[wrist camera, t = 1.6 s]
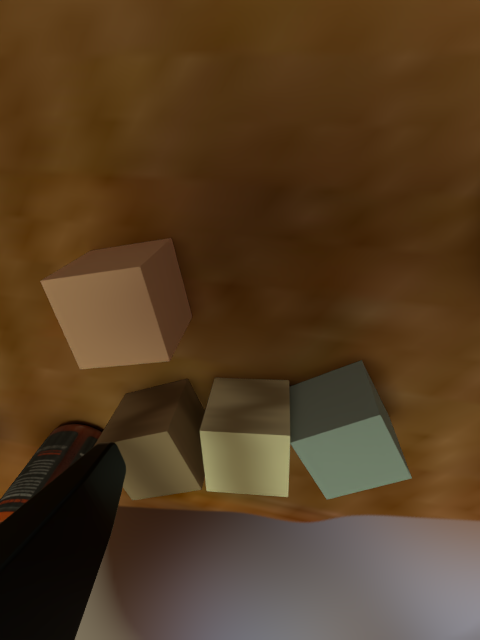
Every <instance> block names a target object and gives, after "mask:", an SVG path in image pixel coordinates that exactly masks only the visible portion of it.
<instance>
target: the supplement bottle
mask: <svg viewBox="0 0 480 640" xmlns="http://www.w3.org/2000/svg"><path fill="white" fill-rule="evenodd" d="M101 434H102V432H101V431H99V430H97V429H95V428H92V427H90V426H85V425H81V424H69V425H64V426H61V427H59V428H57V429H55V430H54V431H53V432H52V433H51V434H50V435H49V437H48V438H47V439H46V440H45V441H44V443H43V444H42V445H41V447H40V448H39V449H38V450H37V452H36V453H35V454H34V456H33V457H32V458H31V460H30V461H29V462H28V464H27V465H26V466H25V467H24V469H23V470H22V472H21V473H20V474H19V476H18V477H17V478H16V479H15V481H14V482H13V483H12V485H11V486H10V487H9V489H8V490H7V491H6V493H5V494H4V495H3V497H2V498H1V499H0V523H1V522H3V521H4V520H5V519H6V518H7V517H9V516H10V515H11V514H12V513H14V512H15V511H16V510H17V509H18V508H20V507H21V506H22V505H23V504H25V503H26V502H27V501H28V500H29V499H31V498H32V497H33V496H34V495H36V494H37V493H38V492H39V491H40V490H42V489H43V488H44V487H45V486H47V485H48V484H49V483H50V482H51V481H53V480H54V479H55V478H56V477H58V476H59V475H60V474H61V473H62V472H64V471H65V470H66V469H67V468H68V467H70V466H71V465H72V464H73V463H75V462H76V461H77V460H78V459H79V458H81V457H82V456H83V455H84V454H86V453H87V452H88V451H89V450H90V449H92V448H93V447H94V445H95V443H96V442H97V440H98V439H99V437H100V435H101Z"/></svg>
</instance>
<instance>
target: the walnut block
mask: <svg viewBox="0 0 480 640" xmlns="http://www.w3.org/2000/svg"><path fill="white" fill-rule="evenodd" d="M204 414H205V411H204V409H203V407H202V405H201V403H200V401H199V399H198V397H197V395H196V393H195V392H194V390H193V388H192V386H191V384H190V382H189V380H188V379H184V380H180V381H176V382H172V383H168V384H164V385H159V386H155V387H151V388H147V389H143V390H139V391H135V392H131V393H127V394H125V396H124V397H123V399H122V401H121V402H120V404H119V406H118V407H117V409H116V411H115V412H114V414H113V416H112V417H111V419H110V420H109V422H108V424H107V425H106V427H105V429H104V430H103V432H102V434H101V435H100V437H99V439H98V440H97V442H96V443H95V445H97V444H98V443H101V442H114V443H116V444H117V446H118V448H119V450H120V452H121V455H122V457H123V459H124V461H125V464H126V475H125V479H124V483H123V488H124V489H125V491H126V492H127V493H128V495H129V496H130V498H131V499H132V500H138V499H144V498H151V497H157V496H163V495H170V494H176V493H183V492H189V491H196V490H202V485H203V481H204V477H205V472H204V464H203V455H202V447H201V439H200V428H201V424H202V421H203V417H204ZM95 445H94V446H95Z"/></svg>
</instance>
